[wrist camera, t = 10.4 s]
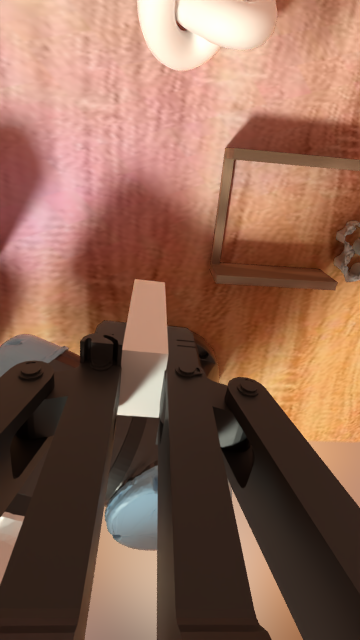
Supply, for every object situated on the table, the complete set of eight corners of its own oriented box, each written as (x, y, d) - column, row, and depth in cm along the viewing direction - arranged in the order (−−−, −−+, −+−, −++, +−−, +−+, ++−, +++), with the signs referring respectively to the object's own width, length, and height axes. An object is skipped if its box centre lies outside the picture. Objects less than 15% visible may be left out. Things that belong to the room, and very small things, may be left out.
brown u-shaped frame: (317, 276, 45) (335, 290, 40) (209, 269, 43) (215, 283, 39) (350, 159, 38) (375, 161, 34) (225, 148, 37) (234, 147, 33)
